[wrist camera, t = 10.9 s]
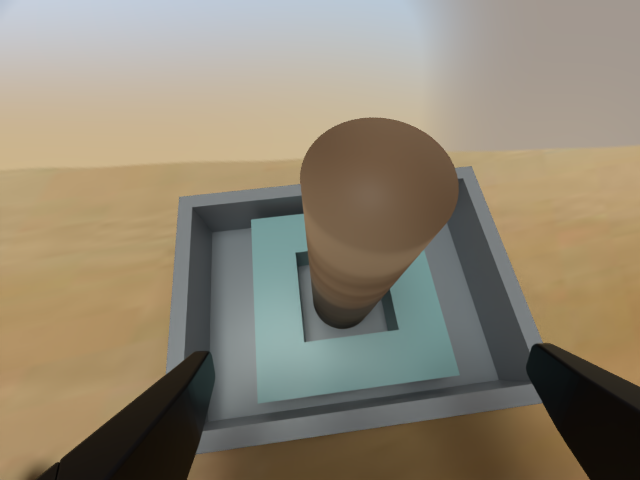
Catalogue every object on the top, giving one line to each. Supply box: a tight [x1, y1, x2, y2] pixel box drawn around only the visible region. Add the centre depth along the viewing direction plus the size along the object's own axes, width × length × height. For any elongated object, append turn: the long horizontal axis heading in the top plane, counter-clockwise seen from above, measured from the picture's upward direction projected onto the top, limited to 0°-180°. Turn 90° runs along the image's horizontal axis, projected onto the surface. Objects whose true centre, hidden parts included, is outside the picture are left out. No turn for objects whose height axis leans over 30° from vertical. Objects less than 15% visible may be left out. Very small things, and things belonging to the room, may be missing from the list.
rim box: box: [166, 166, 543, 454], centre depth 17 cm, size 13×18×4 cm
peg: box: [300, 118, 459, 329], centre depth 13 cm, size 4×4×13 cm
